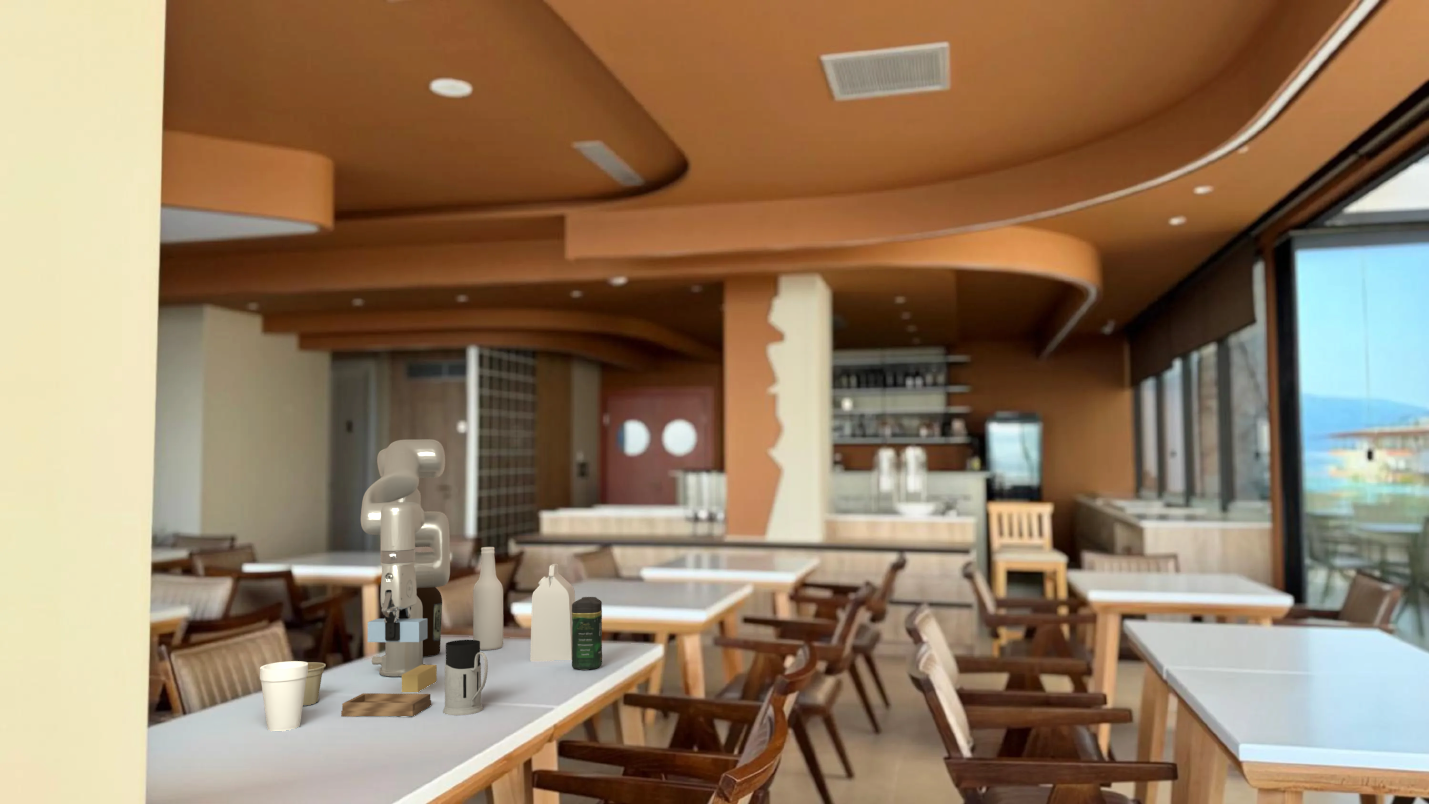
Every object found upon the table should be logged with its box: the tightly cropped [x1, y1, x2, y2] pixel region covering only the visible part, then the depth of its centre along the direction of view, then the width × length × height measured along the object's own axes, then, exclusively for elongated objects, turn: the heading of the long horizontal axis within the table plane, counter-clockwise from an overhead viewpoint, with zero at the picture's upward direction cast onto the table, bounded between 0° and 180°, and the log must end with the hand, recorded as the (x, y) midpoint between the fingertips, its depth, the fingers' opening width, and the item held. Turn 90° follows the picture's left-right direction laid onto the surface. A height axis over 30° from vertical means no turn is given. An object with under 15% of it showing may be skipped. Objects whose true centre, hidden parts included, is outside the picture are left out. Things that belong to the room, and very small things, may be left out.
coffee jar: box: [571, 596, 603, 671], centre depth 271 cm, size 10×8×19 cm
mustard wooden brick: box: [401, 664, 438, 693], centre depth 250 cm, size 4×12×4 cm, turn 174°
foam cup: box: [259, 660, 309, 732], centre depth 213 cm, size 10×9×13 cm
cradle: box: [340, 692, 432, 717], centre depth 226 cm, size 16×10×3 cm, turn 83°
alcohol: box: [472, 546, 504, 651], centre depth 303 cm, size 9×9×30 cm
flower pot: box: [303, 661, 327, 706], centre depth 235 cm, size 9×9×9 cm
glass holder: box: [442, 639, 489, 716], centre depth 224 cm, size 9×14×15 cm, turn 45°
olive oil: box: [416, 587, 443, 658], centre depth 294 cm, size 11×11×25 cm
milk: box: [529, 563, 576, 662], centre depth 287 cm, size 12×12×26 cm
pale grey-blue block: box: [367, 618, 427, 643], centre depth 230 cm, size 12×5×4 cm, turn 85°
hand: (397, 637), depth 229 cm, fingers closed on pale grey-blue block, 5 cm apart
